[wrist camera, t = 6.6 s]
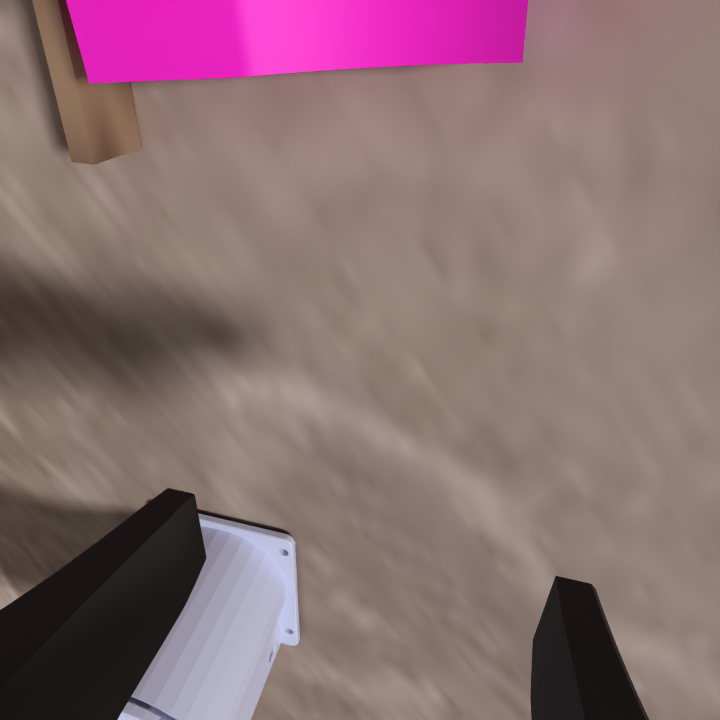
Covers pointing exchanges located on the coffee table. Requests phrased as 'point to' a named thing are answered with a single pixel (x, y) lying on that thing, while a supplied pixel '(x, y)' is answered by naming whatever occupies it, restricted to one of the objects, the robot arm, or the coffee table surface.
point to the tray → (85, 93)
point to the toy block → (288, 36)
